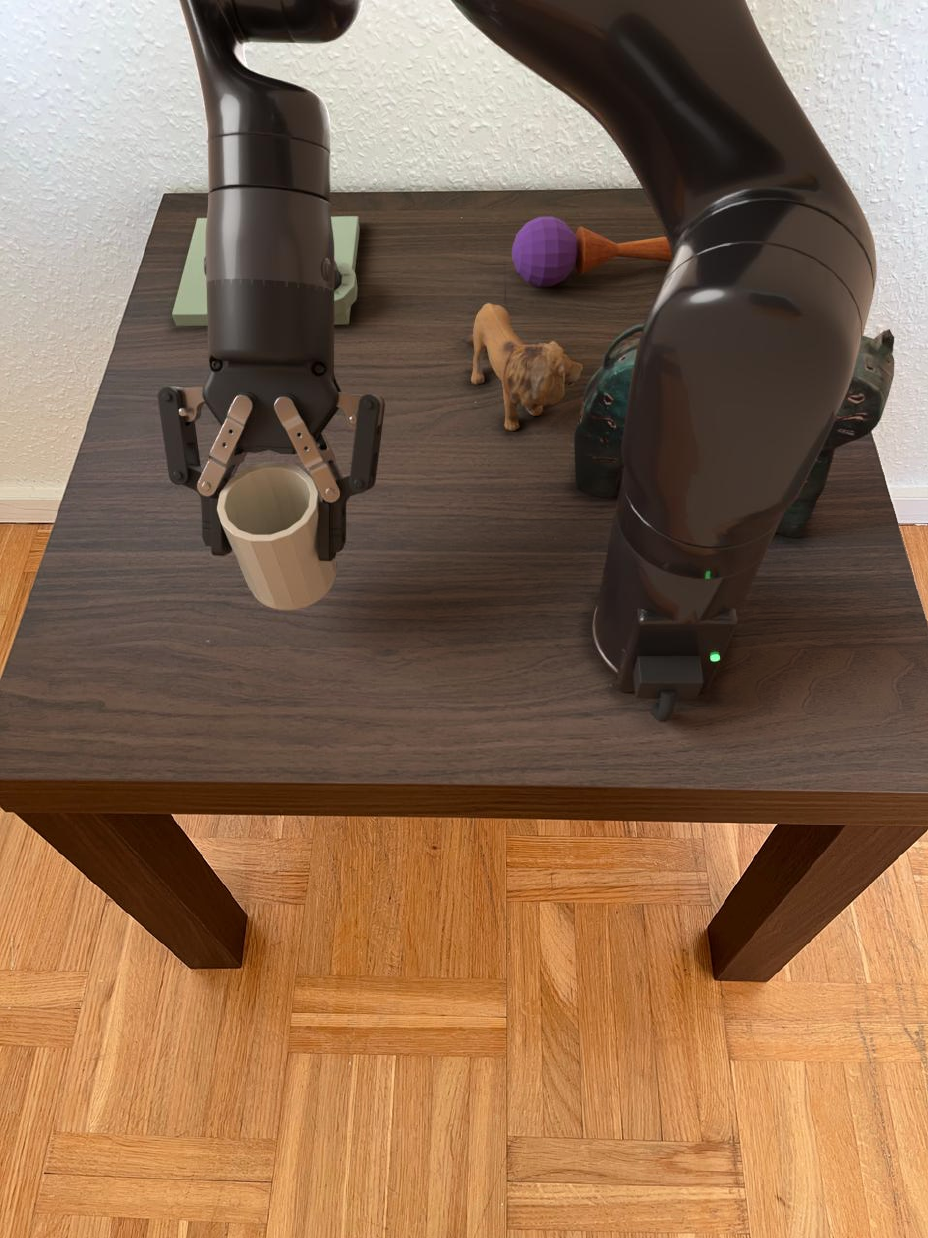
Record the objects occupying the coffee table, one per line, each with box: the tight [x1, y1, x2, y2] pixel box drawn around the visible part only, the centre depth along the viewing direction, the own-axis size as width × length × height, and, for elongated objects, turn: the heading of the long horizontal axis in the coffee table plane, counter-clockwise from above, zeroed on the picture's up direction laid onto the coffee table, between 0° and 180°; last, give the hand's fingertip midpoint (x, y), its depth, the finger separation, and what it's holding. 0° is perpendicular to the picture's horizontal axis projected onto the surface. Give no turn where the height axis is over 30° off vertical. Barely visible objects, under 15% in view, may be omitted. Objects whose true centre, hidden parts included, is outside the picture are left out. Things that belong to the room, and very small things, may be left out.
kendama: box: [511, 215, 672, 288], centre depth 84 cm, size 6×6×20 cm
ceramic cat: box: [573, 322, 895, 539], centre depth 63 cm, size 20×6×20 cm, turn 73°
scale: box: [171, 215, 361, 327], centre depth 86 cm, size 15×17×3 cm
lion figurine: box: [460, 302, 584, 432], centre depth 75 cm, size 15×5×9 cm, turn 33°
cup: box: [217, 461, 338, 611], centre depth 60 cm, size 6×6×8 cm
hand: (274, 555), depth 59 cm, fingers closed on cup, 6 cm apart
